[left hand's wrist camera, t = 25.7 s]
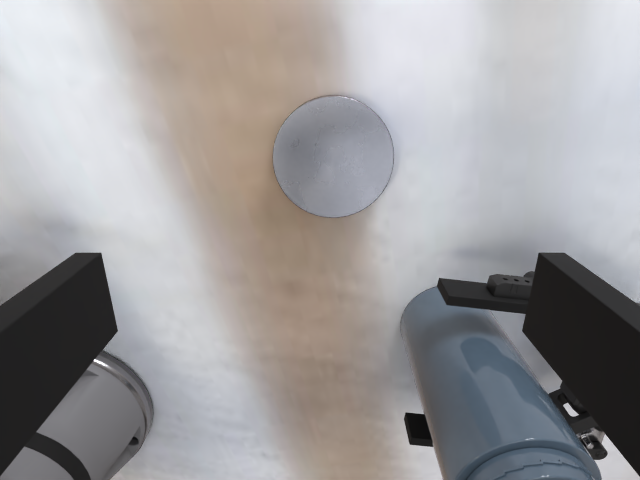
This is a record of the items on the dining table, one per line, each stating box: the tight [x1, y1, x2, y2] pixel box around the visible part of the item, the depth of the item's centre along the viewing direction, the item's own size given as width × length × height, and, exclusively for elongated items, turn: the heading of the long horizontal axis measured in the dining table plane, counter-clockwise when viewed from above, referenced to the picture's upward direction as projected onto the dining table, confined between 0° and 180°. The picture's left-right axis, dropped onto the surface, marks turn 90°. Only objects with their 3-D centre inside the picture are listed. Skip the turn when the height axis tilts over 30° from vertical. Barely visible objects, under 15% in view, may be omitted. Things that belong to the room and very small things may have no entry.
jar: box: [400, 287, 602, 480], centre depth 30 cm, size 8×8×19 cm
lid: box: [273, 95, 394, 218], centre depth 32 cm, size 9×9×2 cm
